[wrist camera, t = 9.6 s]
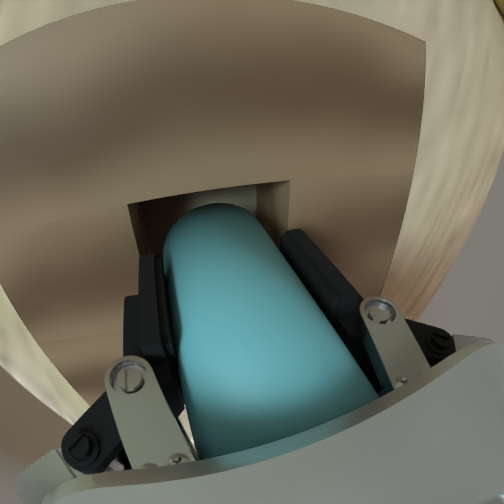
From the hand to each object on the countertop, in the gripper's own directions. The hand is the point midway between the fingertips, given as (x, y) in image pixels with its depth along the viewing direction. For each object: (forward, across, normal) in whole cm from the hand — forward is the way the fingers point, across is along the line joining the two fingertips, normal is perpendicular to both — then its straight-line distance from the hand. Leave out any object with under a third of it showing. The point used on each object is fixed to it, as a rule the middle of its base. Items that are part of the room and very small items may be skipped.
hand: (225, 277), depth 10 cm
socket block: (+5, 0, 0) cm, 5 cm away
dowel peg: (+2, 0, 0) cm, 2 cm away
